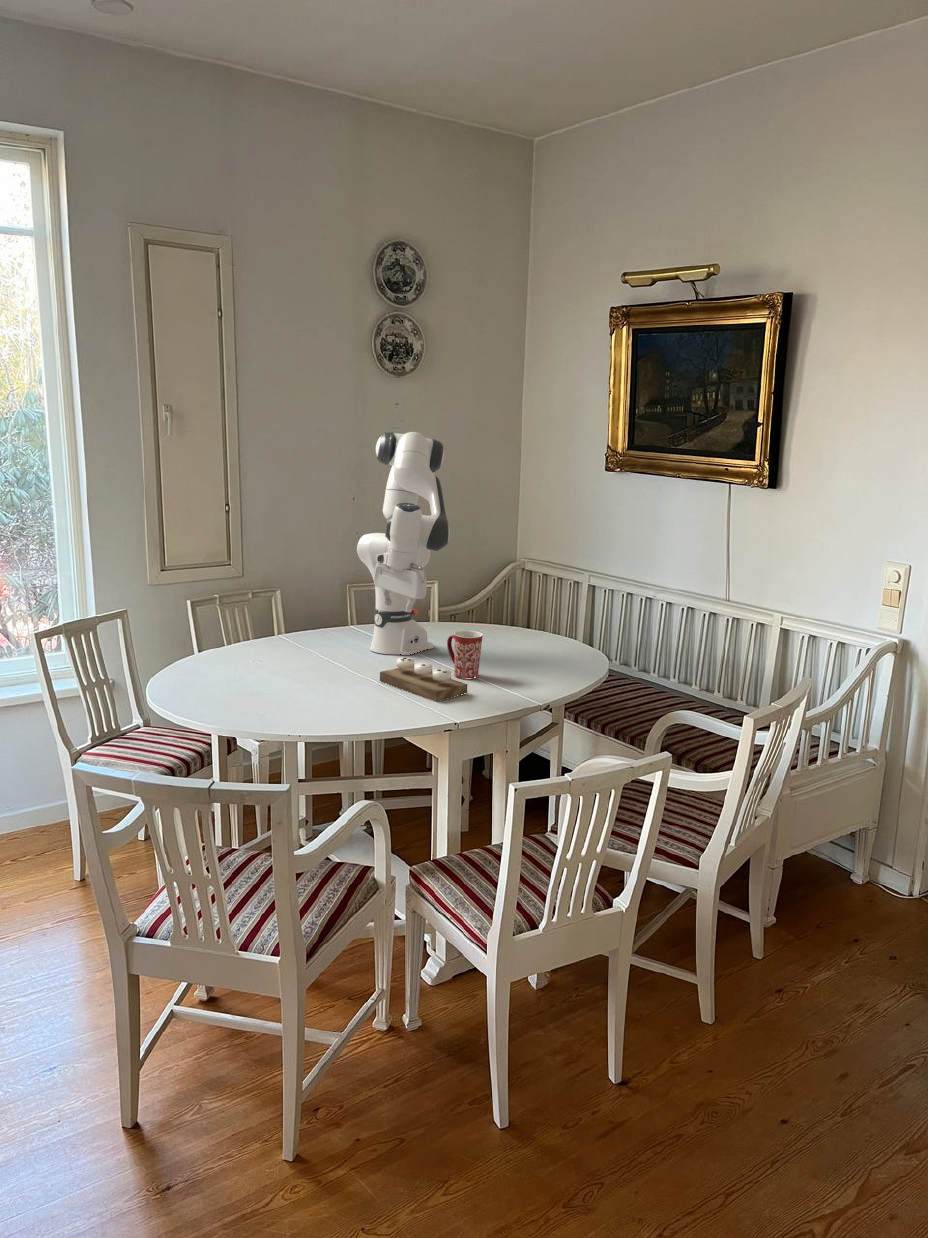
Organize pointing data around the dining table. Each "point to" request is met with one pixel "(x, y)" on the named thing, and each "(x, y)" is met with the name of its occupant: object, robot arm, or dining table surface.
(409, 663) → the button three
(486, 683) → the dining table surface
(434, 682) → the button board
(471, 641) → the mug
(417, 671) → the button one
